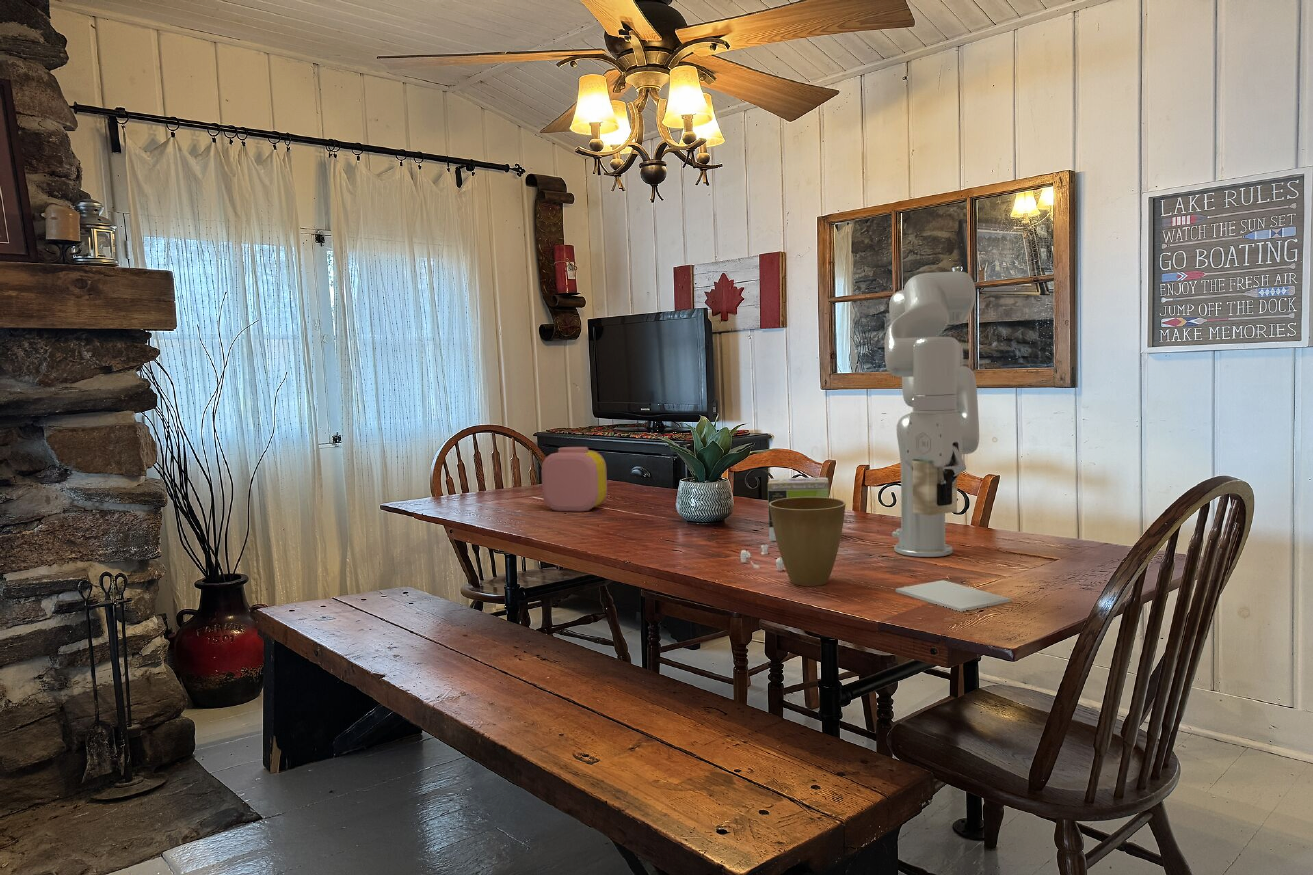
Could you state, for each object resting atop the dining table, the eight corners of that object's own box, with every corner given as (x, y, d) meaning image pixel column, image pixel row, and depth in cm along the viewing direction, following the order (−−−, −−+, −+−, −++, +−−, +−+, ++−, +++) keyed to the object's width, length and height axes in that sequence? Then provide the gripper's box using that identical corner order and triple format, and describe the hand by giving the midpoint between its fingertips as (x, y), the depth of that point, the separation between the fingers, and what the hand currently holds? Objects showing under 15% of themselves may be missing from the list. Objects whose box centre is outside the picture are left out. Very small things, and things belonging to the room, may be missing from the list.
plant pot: (781, 571, 182) (779, 495, 180) (852, 575, 176) (851, 497, 175) (761, 588, 168) (760, 506, 167) (838, 594, 162) (837, 509, 161)
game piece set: (811, 576, 178) (810, 558, 177) (724, 567, 188) (723, 550, 188) (843, 557, 194) (842, 541, 194) (761, 550, 205) (761, 534, 204)
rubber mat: (895, 591, 163) (895, 588, 163) (943, 583, 168) (943, 580, 168) (960, 612, 148) (960, 608, 148) (1010, 601, 154) (1010, 598, 154)
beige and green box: (912, 512, 161) (912, 459, 160) (940, 508, 164) (940, 456, 163) (928, 515, 157) (928, 460, 156) (957, 511, 160) (957, 457, 160)
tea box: (829, 534, 220) (829, 476, 219) (830, 542, 210) (830, 481, 209) (770, 533, 222) (769, 476, 221) (768, 541, 213) (767, 482, 211)
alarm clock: (609, 507, 273) (607, 445, 271) (597, 512, 262) (594, 449, 261) (554, 506, 278) (552, 446, 277) (540, 511, 268) (538, 449, 266)
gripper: (887, 404, 165) (888, 499, 166) (954, 406, 150) (954, 511, 151) (917, 402, 168) (917, 496, 170) (985, 404, 153) (985, 507, 155)
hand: (935, 502), depth 160 cm, fingers closed on beige and green box, 4 cm apart
